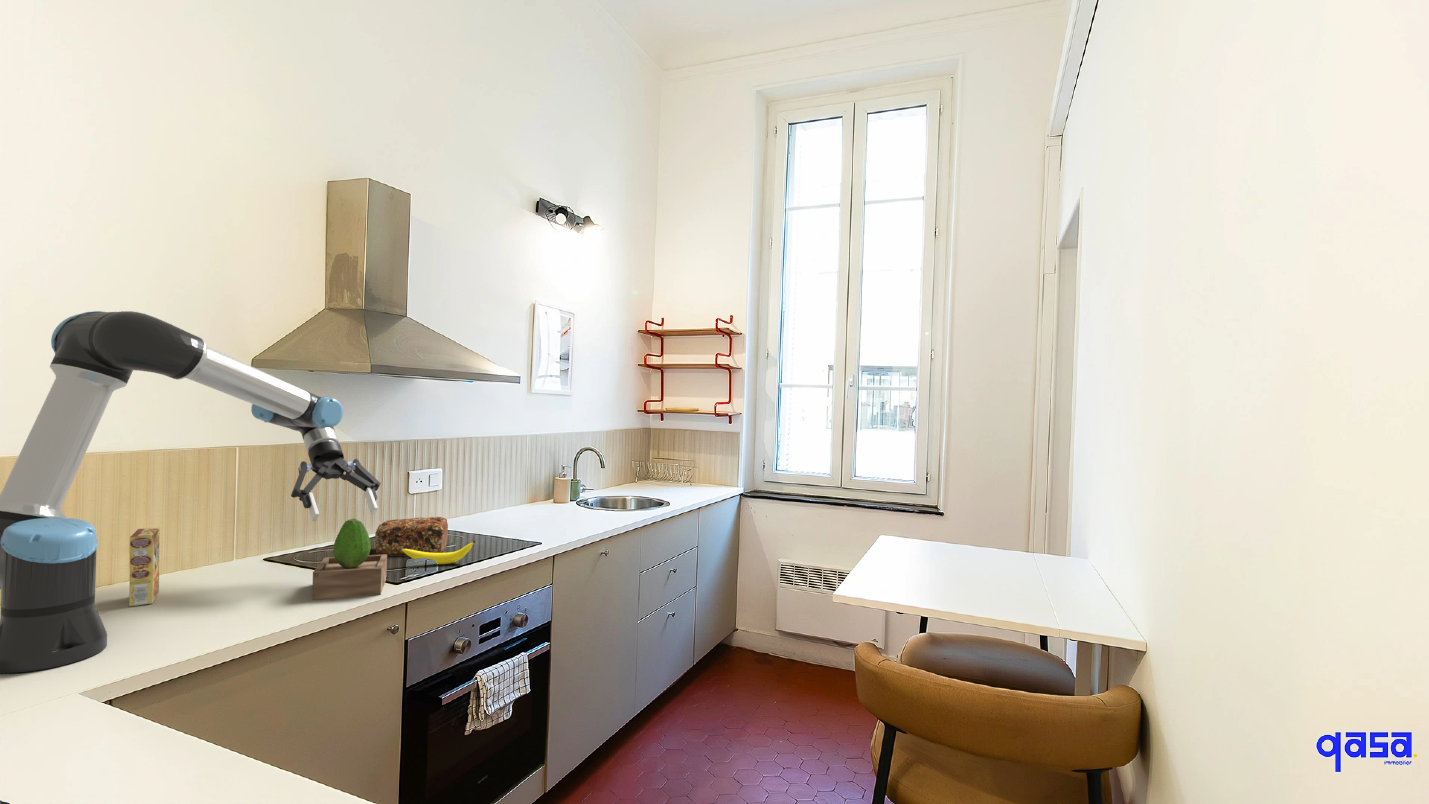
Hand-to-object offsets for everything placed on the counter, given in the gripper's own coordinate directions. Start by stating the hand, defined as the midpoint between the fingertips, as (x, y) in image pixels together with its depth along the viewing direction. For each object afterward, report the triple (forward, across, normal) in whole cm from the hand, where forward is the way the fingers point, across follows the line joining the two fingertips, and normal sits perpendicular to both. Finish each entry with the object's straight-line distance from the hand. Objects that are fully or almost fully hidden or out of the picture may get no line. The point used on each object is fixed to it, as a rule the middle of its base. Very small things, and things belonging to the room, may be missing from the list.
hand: (346, 514), depth 162 cm
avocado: (+12, 0, -6) cm, 13 cm away
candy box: (0, +35, -25) cm, 43 cm away
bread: (-3, -28, -28) cm, 39 cm away
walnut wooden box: (+16, 0, -9) cm, 18 cm away
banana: (+11, -25, -13) cm, 31 cm away
